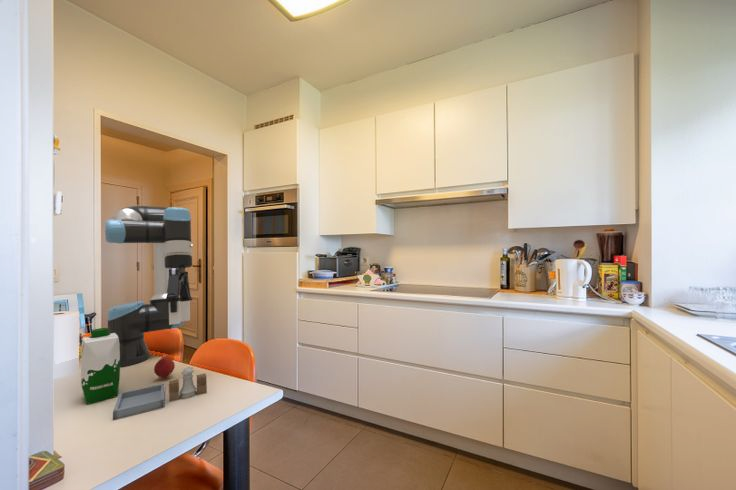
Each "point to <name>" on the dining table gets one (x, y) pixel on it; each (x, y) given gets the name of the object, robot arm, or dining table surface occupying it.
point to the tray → (139, 401)
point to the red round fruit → (164, 367)
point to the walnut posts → (175, 387)
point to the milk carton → (100, 365)
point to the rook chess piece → (187, 384)
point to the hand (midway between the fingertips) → (180, 322)
